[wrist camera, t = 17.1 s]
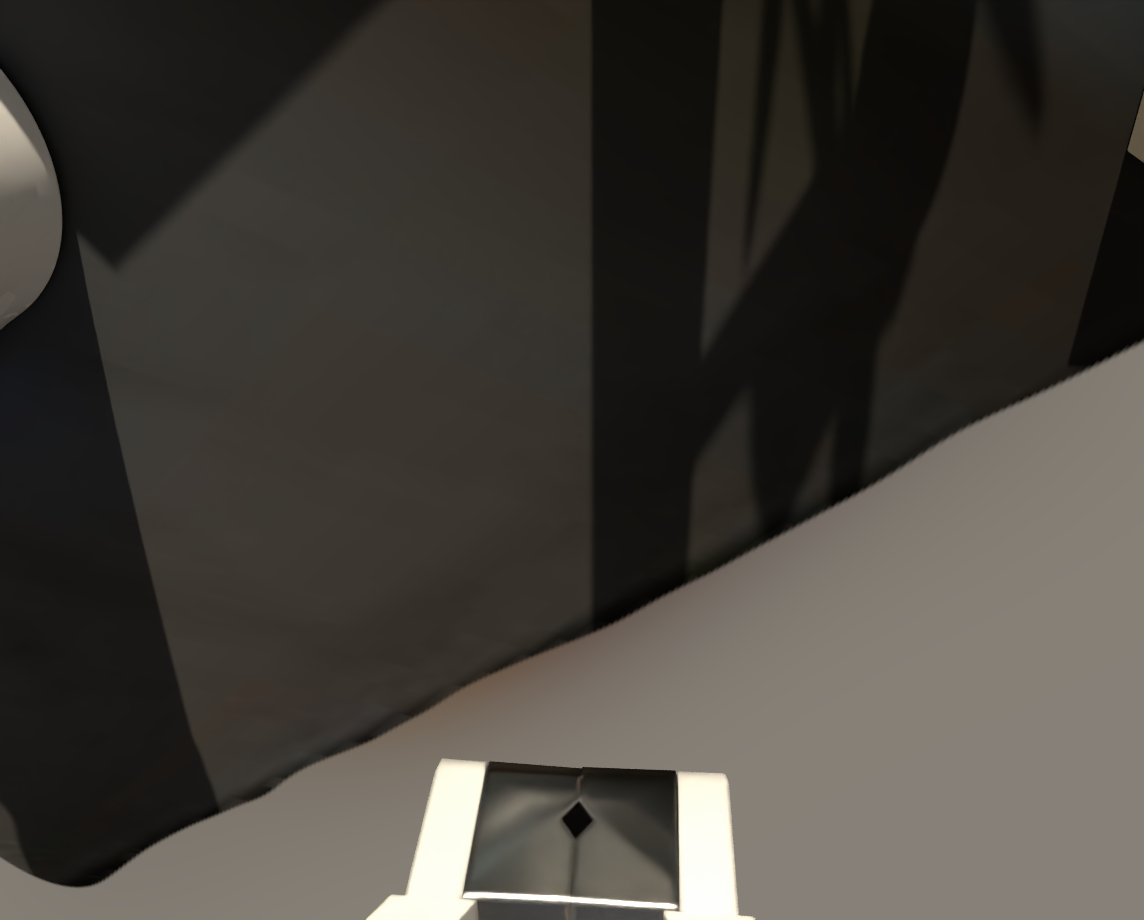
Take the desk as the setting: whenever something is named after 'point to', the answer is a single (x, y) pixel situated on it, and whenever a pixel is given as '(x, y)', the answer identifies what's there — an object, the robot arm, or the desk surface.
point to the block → (1138, 134)
